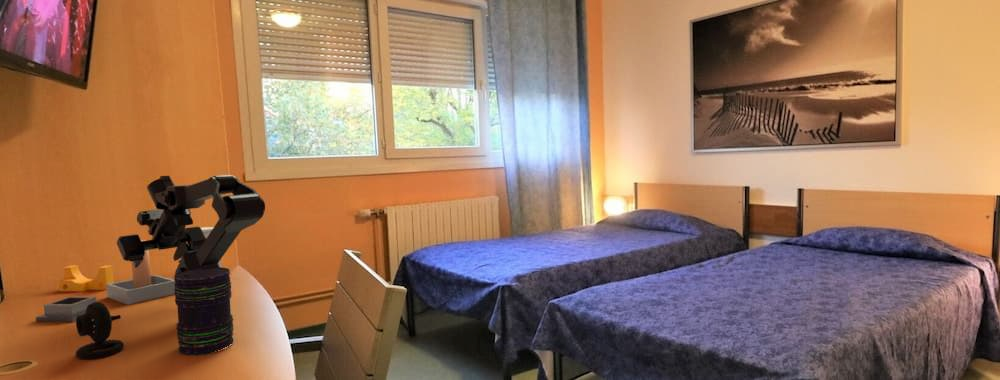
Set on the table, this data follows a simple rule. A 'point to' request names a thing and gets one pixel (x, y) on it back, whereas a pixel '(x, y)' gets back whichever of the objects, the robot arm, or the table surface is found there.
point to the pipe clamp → (85, 279)
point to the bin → (140, 290)
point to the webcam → (97, 332)
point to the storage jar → (203, 310)
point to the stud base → (65, 309)
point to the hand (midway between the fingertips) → (155, 262)
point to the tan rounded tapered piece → (142, 272)
